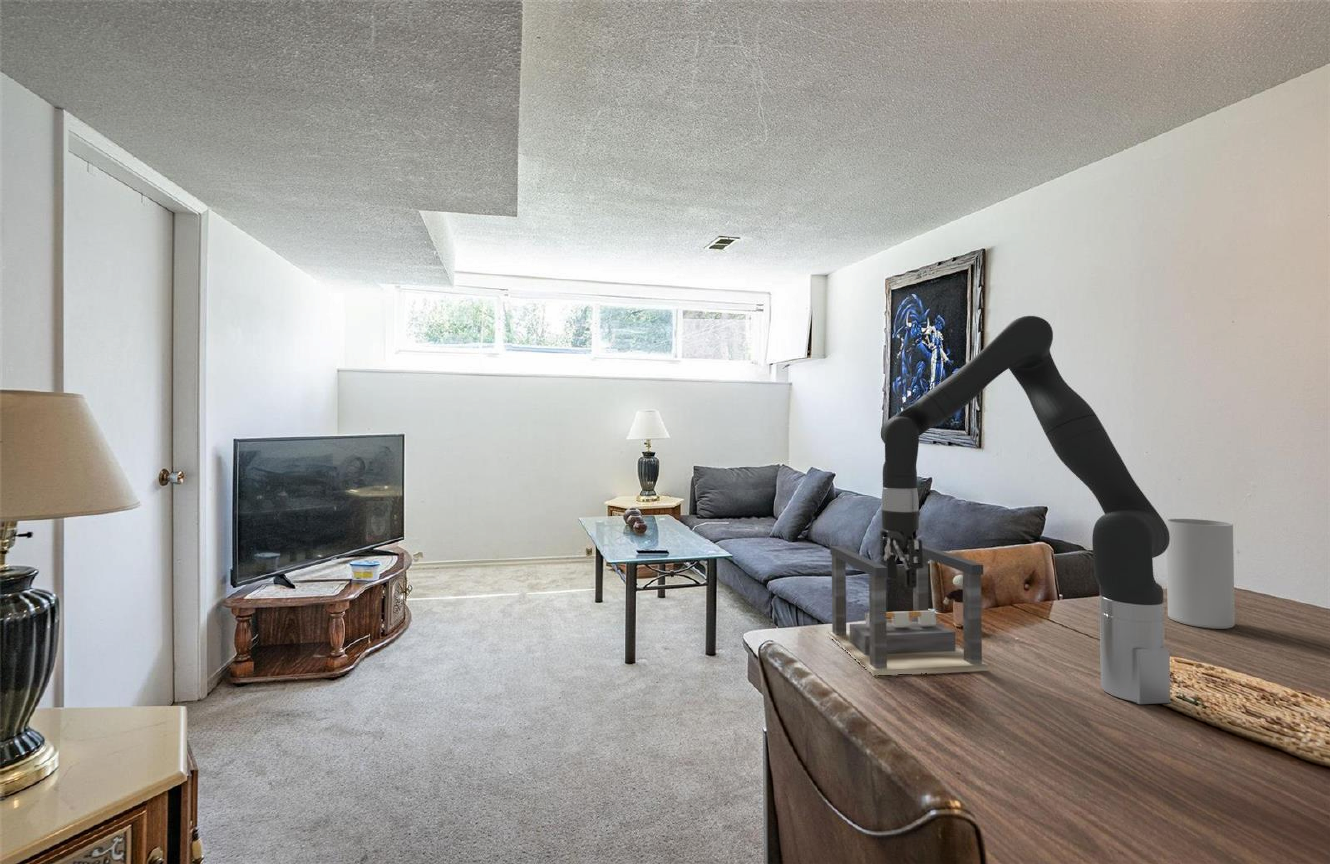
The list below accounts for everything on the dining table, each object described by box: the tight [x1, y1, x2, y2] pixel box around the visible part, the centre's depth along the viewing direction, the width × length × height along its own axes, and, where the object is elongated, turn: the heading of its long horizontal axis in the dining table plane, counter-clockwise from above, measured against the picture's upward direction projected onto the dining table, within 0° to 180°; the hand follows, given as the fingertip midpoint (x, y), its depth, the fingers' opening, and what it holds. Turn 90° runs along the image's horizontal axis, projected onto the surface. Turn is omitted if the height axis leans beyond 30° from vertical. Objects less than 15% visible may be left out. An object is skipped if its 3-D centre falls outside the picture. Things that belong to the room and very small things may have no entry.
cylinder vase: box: [1165, 518, 1236, 630], centre depth 150 cm, size 12×12×25 cm
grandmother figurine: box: [943, 574, 963, 626], centre depth 148 cm, size 8×4×13 cm, turn 84°
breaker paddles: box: [864, 609, 937, 627], centre depth 131 cm, size 2×15×3 cm, turn 96°
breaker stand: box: [827, 555, 989, 676], centre depth 131 cm, size 24×24×19 cm
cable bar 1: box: [829, 545, 889, 579], centre depth 130 cm, size 24×2×2 cm, turn 6°
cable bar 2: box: [915, 543, 984, 576], centre depth 132 cm, size 24×2×2 cm, turn 6°
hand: (900, 582), depth 131 cm, fingers open, 8 cm apart
